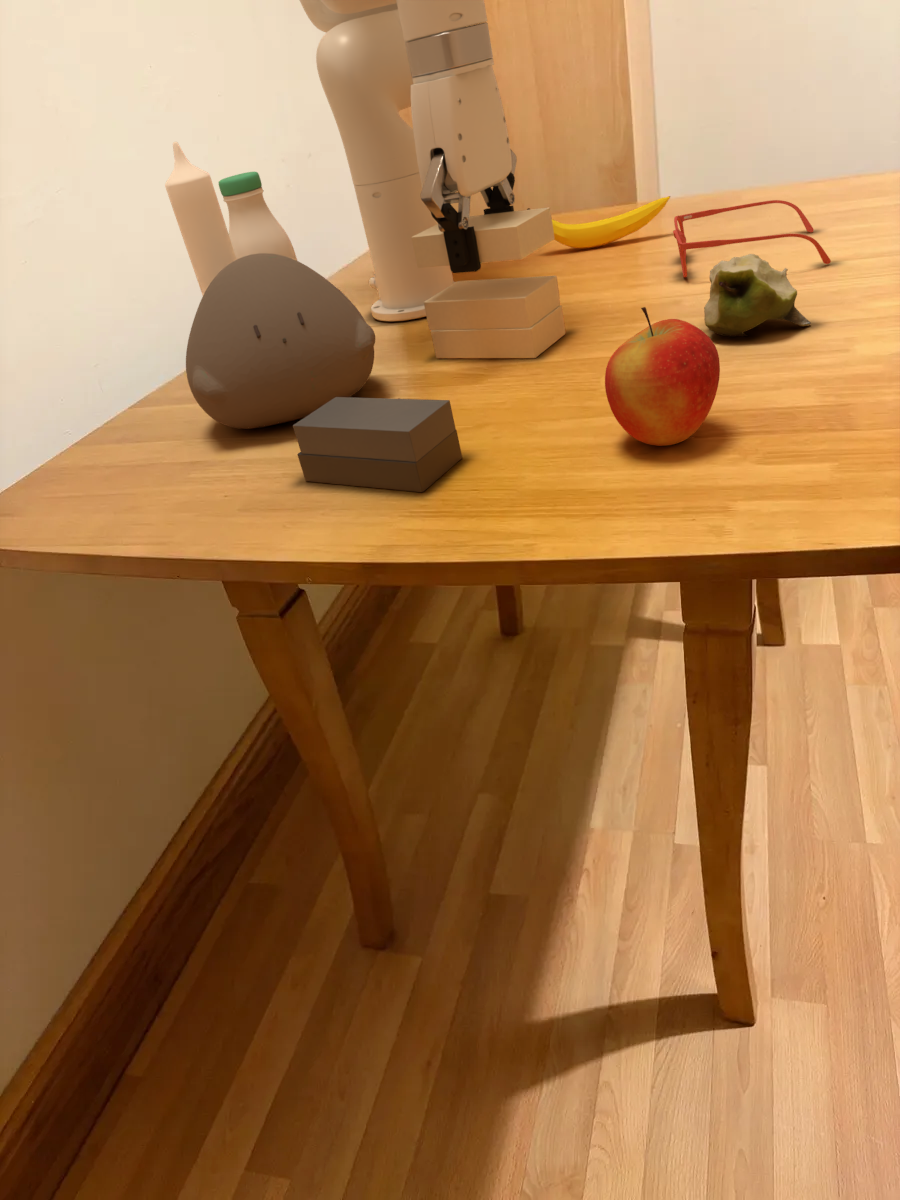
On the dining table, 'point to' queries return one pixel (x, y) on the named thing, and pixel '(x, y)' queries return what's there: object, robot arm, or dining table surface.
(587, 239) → the banana
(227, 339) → the decorative object
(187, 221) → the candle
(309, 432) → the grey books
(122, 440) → the dining table surface
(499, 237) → the cream rectangular block
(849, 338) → the dining table surface
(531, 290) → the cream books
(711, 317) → the fruit
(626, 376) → the apple
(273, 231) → the milk bottle
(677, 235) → the red eyeglasses
